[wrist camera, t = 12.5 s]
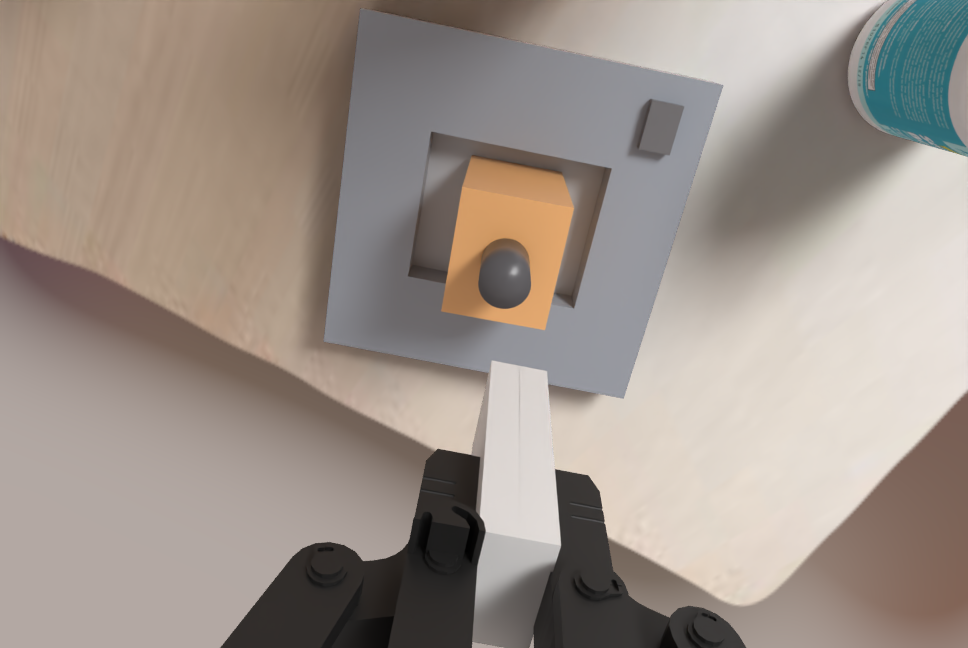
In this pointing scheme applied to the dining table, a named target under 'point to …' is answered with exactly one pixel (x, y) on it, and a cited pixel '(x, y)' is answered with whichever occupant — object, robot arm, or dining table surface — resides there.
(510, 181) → the plug
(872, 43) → the pill bottle
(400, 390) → the dining table surface
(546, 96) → the socket plate
